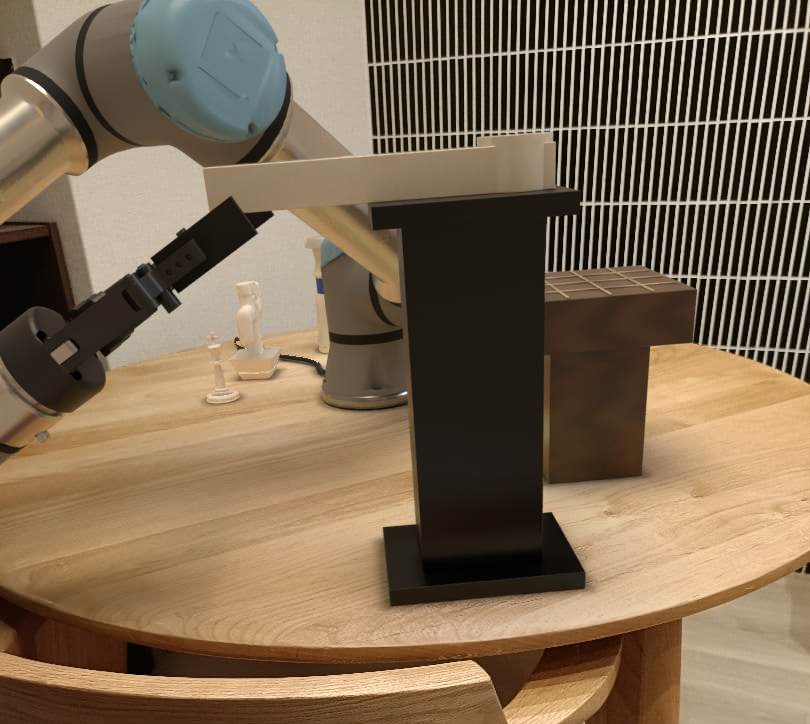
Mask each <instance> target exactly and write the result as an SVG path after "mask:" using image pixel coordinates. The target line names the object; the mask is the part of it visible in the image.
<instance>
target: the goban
mask: <svg viewBox="0 0 810 724" xmlns="http://www.w3.org/2000/svg"><path fill="white" fill-rule="evenodd" d="M697 299H698V289H697V288H695V287H693V286H692V285H691V286H690V285H688V284H687V283H684V282H682V281H679V280H676V279H674V278H673V277H672V278H671V277H670V276H667V275H665V274H663V273H660V272H658V271H655V270H653V269H650V268H648V267H646V266H644V265H640V264H639V265H628V266H613V267H602V268H590V269H589V268H587V269H576V270H572V269H571V270H564V271H563V270H562V271H552V272H545V336H544V442H543V477H544V478H545V480H546V481H547V483H548V484H559V483H560V484H562V483H571V482H583V481H594V480H605V479H618V478H628V477H639V476H640V477H641V476H643V465H644V464H643V463H644V462H643V461H644V448H645V447H644V446H645V436H646V435H645V434H646V419H647V417H646V416H647V402H648V390H649V389H648V388H649V373H650V360H651V359H650V358H651V347H660V346H661V347H662V346H675V345H684V344H693V342H694V333H695V320H696V309H697Z"/></svg>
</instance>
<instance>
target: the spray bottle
mask: <svg viewBox="0 0 810 724" xmlns="http://www.w3.org/2000/svg"><path fill="white" fill-rule="evenodd" d="M324 239H325V238H324V237H323V236H321V235H320V234H315V235H310V236H307V237H306V240H305V243H304V248H305V249H309V250H312V254H313V257H314V262H315V263H314V269H313V271H312V275H313V277H315V284H316V285H315V287H316V295H315V310H316V320H317V321H316V322H317V332H318V350H319V352H320V353H323V354H328V353H329V348H330V341H329V331H328V324H327V316H326V307H325V299H324V291H323V283H322V275H321V269H320V266H321V251H320V248H321V243H322V241H323V240H324ZM319 345H320V346H319ZM324 347H326V348H324Z"/></svg>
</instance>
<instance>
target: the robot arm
mask: <svg viewBox="0 0 810 724" xmlns="http://www.w3.org/2000/svg"><path fill="white" fill-rule="evenodd" d="M278 42H279V39H278V36H277V34H276V32H275V30H274V28H273V27H272V25H271V23H270V22H269V20H268V19H267V17H266V16H265V14H264V13H263V12H262V11H261V10H260V8H259V7H258V6H256V4H254V2H252V1H251V0H121V1H117V2H114V3H108V4H105V5H102V6H98V7H95V8H93V9H92V10H90V11H88V12H86V13H84V14H83V15H81V16H80V17H78V18H77V19H75V20H74V21H73V22H72V23H71V24H69V25H68V26H67V27H66V28H65V29H63V30H61V32H60V33H58V34H57V35H56V36H55V37H54V38H52V39H51V40H50V41H49V42H47V43H46V44H45V45H44V46H43V47H42V48H40V49H39V50H38V51H37V52H36V53H34V54H33V55H32V56H31V57H29V58H28V59H27V60H26V61H24V63H22V64H21V65H19V67H18V68H16V69H15V70H13V71H12V72H10V73H9V74H7V75H6V76H5V77H4V78H3V79H2V80H1V83H0V93H1V97H0V226H2V225H3V224H4V223H5V222H6V221H8V220H9V219H10V218H11V217H13V216H14V215H15V214H16V213H18V212H19V211H20V210H21V209H23V208H24V207H25V206H26V205H28V204H29V202H31V201H32V200H34V199H35V198H36V197H37V196H38V195H40V194H41V193H42V192H43V191H44V190H46V189H48V187H49V186H51V185H52V184H53V183H54V182H56V181H57V180H58V179H59V178H60V177H62V176H63V175H64V174H65V175H69V176H72V177H79V176H80V177H81V176H82V175H83V174H84V173H86V172H87V171H88V170H90V169H91V168H92V167H93V166H95V165H96V164H97V163H99V162H100V161H102V160H104V159H106V158H108V157H110V156H112V155H114V154H115V155H116V154H117V153H121V152H125V151H130V150H132V149H138V148H149V147H150V148H151V147H161V146H169V147H172V148H175V149H177V150H179V151H180V152H182V154H184V155H186V156H187V157H188V158H190V159H191V160H193V161H194V162H196V164H198V165H200V166H201V167H202V168H205V167H209V166H218V165H231V164H245V163H258V162H271V161H285V160H298V159H311V158H325V157H338V156H351V155H354V154H353V152H351V151H350V150H349V149H347V148H346V147H345V146H344V145H343V143H341V142H340V141H339V140H338V139H337V138H336V137H334V136H333V134H331V133H330V132H329V131H328V130H327V129H325V128H324V126H323V125H321V124H320V123H319V122H318V121H317V120H316V119H315V118H314V117H313V116H311V114H309V112H307V111H306V110H305V109H304V108H303V107H302V106H301V105H299V104H298V103H297V102H296V101H295V100H294V84H293V81H292V77H291V76H290V73H289V72H288V70H287V68H286V67H287V66H286V60H285V56H284V54H283V53H282V52H281V53H280V52H279V51H278V48H277V47H278V46H277V44H278ZM287 211H288V212H289V213H291V214H292V215H293V216H295V217H296V218H297V219H298V220H300V221H301V222H303V223H304V224H305V225H307V226H308V227H310V228H311V230H314V231H315V232H316V233H317V234H318V235H321V236H323V237H324V238H325V239H324V240H323V241H322V243H321V248H320V251H321V266H320V269H321V275H322V283H323V291H324V299H325V307H326V316H327V324H328V331H329V341H330V348H329V353H327V358H326V365H325V369H324V368H323V367H322V363H320V362H319V361H318V363H317V362H316V361H314V360H311V359H308V358H309V357H308V358H303V357H304V356H302V357H296V356H297V355H295V356H289V355H290V354H288V355H281V354H282V353H280V356H279V359H281V360H288V361H295V362H302V363H307V364H311V365H313V366H315V368H316V371H317V372H318V374H320V375H322V376H324V377H323V379H322V382H321V383H322V384H321V392H322V399H323V401H324V402H325V403H326V404H329V405H330V406H334V407H337V408H342V409H352V410H353V409H354V410H371V409H373V410H374V409H383V408H384V409H385V408H391V407H395V406H400V405H404V404H408V399H407V384H406V369H405V354H404V339H403V324H402V310H401V295H400V280H399V265H398V250H397V235H396V229H388V230H375V231H373V229H372V226H371V223H370V220H369V217H368V205H367V204H354V205H341V206H328V207H315V208H302V209H289V210H287ZM274 213H275V212H274V211H263V212H250V213H244V212H243V211H242V210H241V208H240V207H239V205H238V204H237V203H236V201H235V200H234V198H233V197H232V196H230V197H228V198H227V199H226V200H225V201H223V202H222V203H221V204H219V205H218V206H217V207H216V208H214V209H213V210H212V211H210V212H209V211H208V212H207V214H205V215H204V216H203V217H201V218H200V219H199V220H197V221H196V222H194V224H192V225H191V226H190V227H188V228H185V227H182V228H181V229H179V230H178V231H177V232H176V233H175V235H176V237H175V238H174V239H173V240H172V241H170V242H169V243H167V244H166V245H164V247H162V248H161V249H160V250H158V251H157V252H155V254H153V255H152V256H151V257H150V258H149V259H150V260H151V261H152V262H153V263H151V262H150V261H148V262H147V263H141V264H140V265H138V266H137V267H136V269H135V271H133V272H132V273H129V272H128V273H126V274H125V275H124V276H123V277H121V278H120V279H118V280H117V281H116V282H114V283H113V284H111V285H110V286H109V287H108V288H106V289H105V290H103V291H102V290H100V291H98V292H97V293H93V294H92V295H90V296H89V297H88V298H86V299H84V300H82V301H81V302H79V303H78V304H77V305H75V306H74V307H72V308H71V309H70V310H68V311H67V312H66V314H67V315H68V316H69V318H70V319H71V320H72V321H71V320H70V321H68V320H67V319H65V318H64V317H63V316H62V315H61V314H60V313H58V312H57V311H55V310H52V309H50V308H49V307H48V308H47V307H44V306H33V307H30V308H28V309H27V310H26V311H25V312H23V313H22V314H21V315H19V316H18V317H16V319H14V320H13V321H12V322H11V323H9V324H8V325H7V326H6V327H5V328H3V329H1V331H0V466H1V465H2V464H3V463H5V462H6V461H7V460H8V459H10V458H11V457H12V456H14V455H15V454H17V453H19V452H20V451H21V450H23V449H24V448H25V447H27V446H28V445H29V444H31V443H32V442H33V441H34V440H35V439H37V441H38V442H40V443H41V444H43V443H47V442H48V441H49V440H51V434H50V432H49V431H48V430H49V429H51V428H53V427H54V426H55V425H57V424H58V423H59V422H60V421H62V420H63V419H64V418H65V416H66V414H72V413H73V412H75V411H76V410H78V409H79V408H81V407H82V406H83V405H84V404H86V403H87V402H88V401H90V400H92V399H93V398H94V397H95V396H96V395H98V394H99V393H101V392H102V391H103V390H104V388H105V387H106V383H107V376H106V371H105V367H104V364H103V363H102V361H101V359H99V357H98V354H97V353H98V352H100V354H101V355H102V356H103V357H104V358H107V357H108V356H110V355H111V354H112V353H114V352H115V351H116V350H117V349H119V347H121V346H122V344H123V343H125V342H126V341H127V340H128V339H130V338H131V336H132V334H133V333H134V332H135V329H137V328H138V327H139V326H141V325H142V324H143V323H144V322H145V321H147V320H148V319H150V318H151V317H152V316H153V315H154V314H155V313H156V312H158V310H159V309H158V308H159V307H160V306H162V307H163V309H164V310H165V311H166V312H167V314H168V315H169V314H171V313H172V312H174V311H175V310H177V308H179V307H180V306H181V305H182V304H183V303H182V302H181V301H180V299H179V298H178V297H177V296H176V294H175V293H174V291H175V292H176V293H177V294H178V295H180V293H181V292H183V291H184V290H186V289H187V288H189V286H191V285H192V284H194V283H195V282H196V281H198V280H199V279H200V278H201V277H203V276H205V274H206V273H208V272H209V271H211V270H212V269H213V268H215V267H216V266H217V265H218V264H220V263H221V262H223V261H224V260H225V259H226V258H228V257H229V256H230V255H232V254H233V253H235V252H236V251H238V249H240V248H242V247H243V246H244V245H245V244H246V243H248V242H249V241H250V240H252V239H253V238H255V237H256V236H257V235H258V234H259V232H258V230H257V229H258V228H260V227H261V226H262V225H264V224H265V223H266V222H268V221H269V220H271V218H273V217H274V216H275V214H274ZM236 341H240V339H239V336H235V337H234V340H233V344H234V343H236ZM235 345H236V348H237V349H239V350H240V349H245V348H243V347H241V346H239V345H237V344H235Z"/></svg>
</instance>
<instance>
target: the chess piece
mask: <svg viewBox="0 0 810 724" xmlns="http://www.w3.org/2000/svg"><path fill="white" fill-rule="evenodd" d="M209 333H210V336H206V341H207V342H208V341H211V344H208V345H207V350H208V351H209V353H210V356H211V358H212V359H211V360H210V362H209V364H210V365H211V366H214V380H215V382H214V383H215V387H214V388H213V391H215V392H219V393H223V392H227V391H229V389H230V386H229V385H227V381H226V379H225V376H224V375H225V374H224V371H223V368H222V365H223V364H225V360H224V359H222V358H221V353H222V344H220V343H217V342H216V341H218V340H220V335H215V332H214V331H211V332H209ZM231 389H232V390H234V391H235V392H234V393H232V394H229V395H224V396H212V395H210V393H211V392H209V393H208V394H207V395H206V402H207V403H210V404H214V405H215V404H217V405H218V404H226V403H227V404H228V403H231V402H235V401H238V399H240V395H239V391H238V390H236V389H233V388H231Z"/></svg>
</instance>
